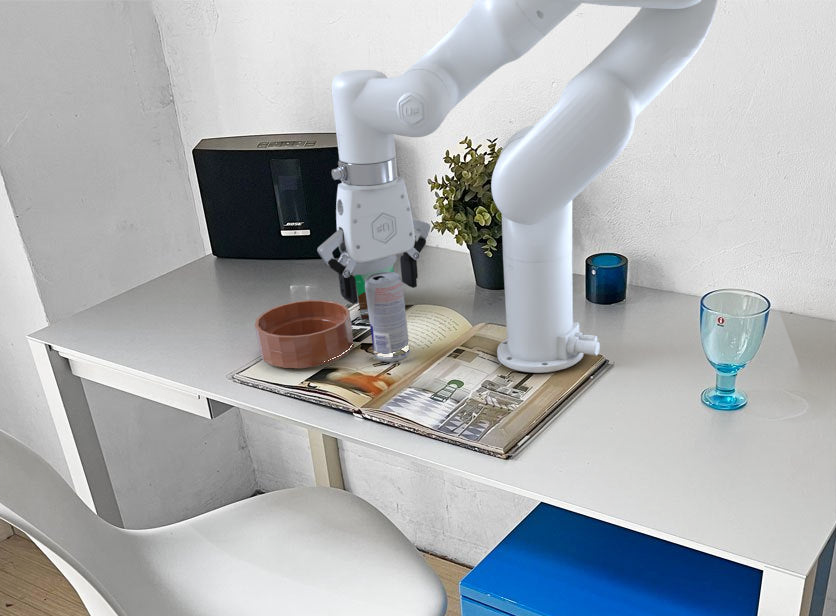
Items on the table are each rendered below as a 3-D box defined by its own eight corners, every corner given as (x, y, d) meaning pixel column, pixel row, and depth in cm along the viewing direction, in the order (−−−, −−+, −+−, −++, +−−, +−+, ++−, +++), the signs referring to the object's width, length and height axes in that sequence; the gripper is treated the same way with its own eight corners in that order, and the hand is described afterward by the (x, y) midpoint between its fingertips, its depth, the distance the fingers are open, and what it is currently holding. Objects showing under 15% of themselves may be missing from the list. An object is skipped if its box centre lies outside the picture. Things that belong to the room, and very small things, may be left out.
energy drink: (396, 344, 149) (387, 268, 143) (417, 354, 146) (409, 277, 139) (367, 355, 147) (356, 278, 140) (387, 366, 143) (378, 287, 137)
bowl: (365, 333, 154) (361, 300, 151) (338, 373, 142) (332, 338, 139) (281, 332, 156) (275, 299, 153) (247, 370, 145) (240, 335, 142)
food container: (398, 320, 157) (391, 260, 152) (360, 322, 157) (351, 262, 152) (405, 292, 167) (398, 234, 162) (369, 294, 168) (361, 236, 162)
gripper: (323, 189, 125) (338, 315, 134) (438, 165, 133) (445, 286, 142) (297, 177, 130) (314, 299, 140) (410, 154, 138) (418, 272, 148)
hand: (380, 292), depth 141 cm, fingers open, 9 cm apart
